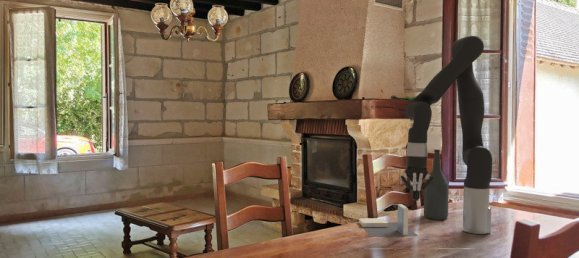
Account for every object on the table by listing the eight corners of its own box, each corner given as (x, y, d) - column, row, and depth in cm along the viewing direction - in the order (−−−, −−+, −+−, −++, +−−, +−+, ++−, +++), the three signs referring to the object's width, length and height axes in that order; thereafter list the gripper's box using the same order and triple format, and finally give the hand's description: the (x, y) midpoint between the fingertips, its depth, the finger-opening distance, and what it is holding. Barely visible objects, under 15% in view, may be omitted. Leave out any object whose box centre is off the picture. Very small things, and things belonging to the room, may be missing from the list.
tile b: (401, 229, 180) (402, 204, 180) (407, 235, 172) (408, 208, 172) (397, 229, 180) (397, 204, 180) (403, 235, 172) (403, 208, 172)
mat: (401, 223, 193) (401, 222, 193) (418, 237, 171) (418, 236, 171) (358, 223, 192) (358, 222, 192) (370, 237, 170) (370, 236, 170)
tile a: (383, 218, 192) (359, 218, 191) (388, 222, 184) (363, 222, 183) (383, 222, 192) (359, 222, 191) (388, 227, 184) (363, 227, 183)
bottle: (419, 217, 204) (420, 149, 203) (431, 214, 211) (432, 148, 210) (440, 221, 197) (442, 150, 196) (452, 218, 203) (453, 149, 202)
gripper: (430, 154, 179) (429, 198, 180) (397, 153, 179) (395, 198, 179) (437, 156, 172) (436, 202, 172) (402, 155, 171) (400, 201, 172)
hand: (415, 200), depth 176 cm, fingers closed
